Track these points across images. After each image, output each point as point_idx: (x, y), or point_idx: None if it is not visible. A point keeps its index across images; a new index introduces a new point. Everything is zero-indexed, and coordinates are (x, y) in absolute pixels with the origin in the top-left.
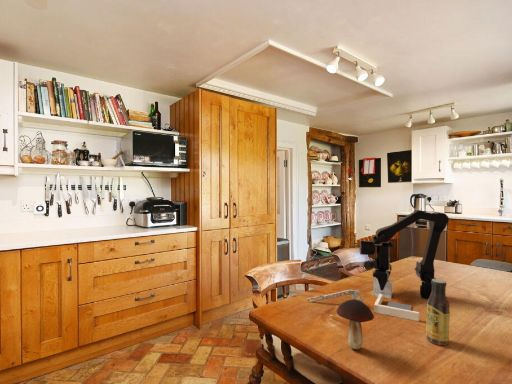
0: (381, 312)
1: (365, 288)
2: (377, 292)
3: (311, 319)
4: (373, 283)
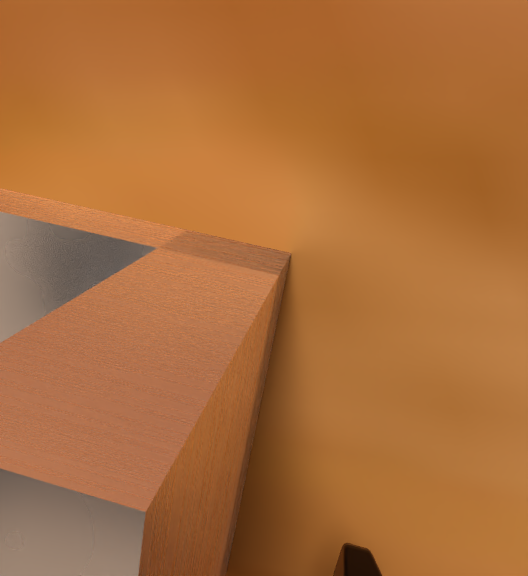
0: None
1: (516, 3)
2: (2, 329)
3: None
4: (36, 321)
